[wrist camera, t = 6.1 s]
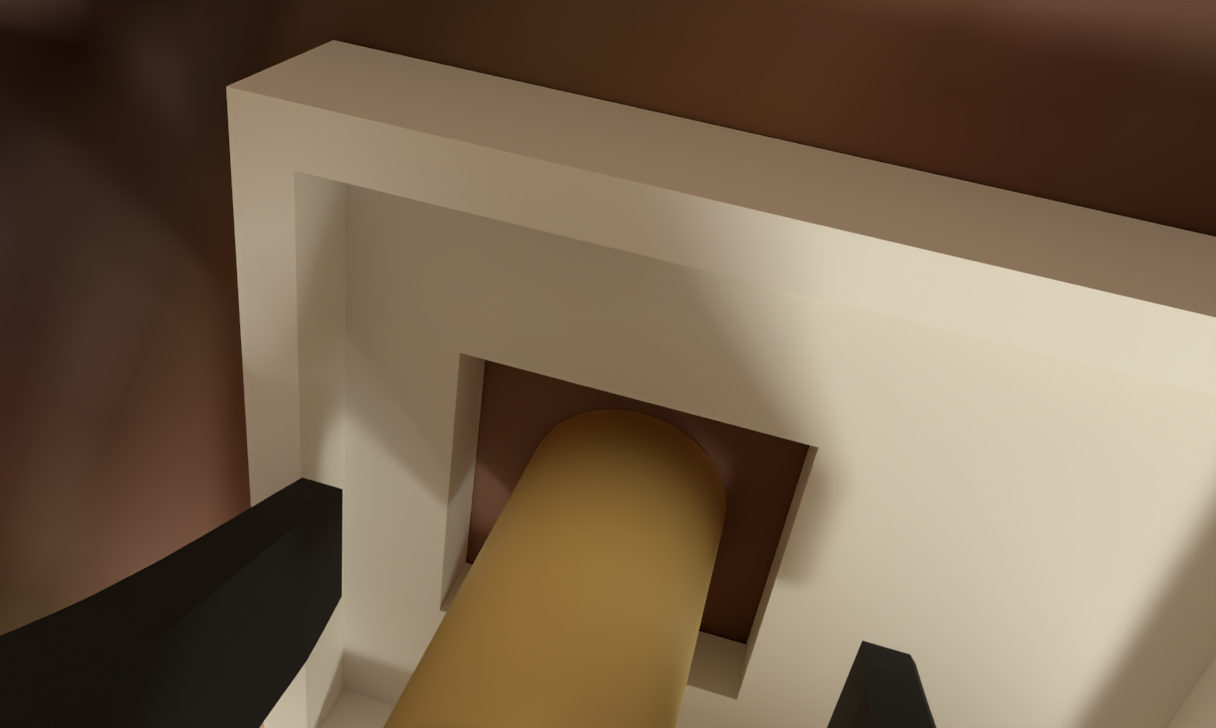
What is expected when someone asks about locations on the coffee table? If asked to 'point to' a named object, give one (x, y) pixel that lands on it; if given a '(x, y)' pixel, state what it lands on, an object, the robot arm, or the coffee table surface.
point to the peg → (581, 587)
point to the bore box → (737, 386)
